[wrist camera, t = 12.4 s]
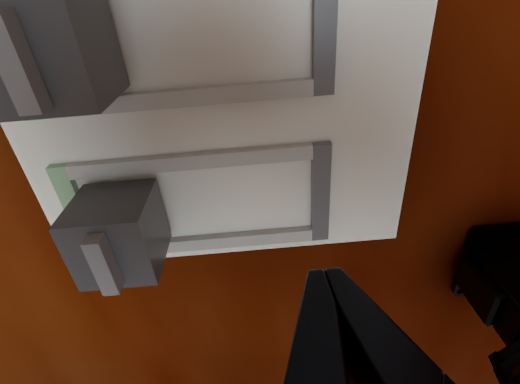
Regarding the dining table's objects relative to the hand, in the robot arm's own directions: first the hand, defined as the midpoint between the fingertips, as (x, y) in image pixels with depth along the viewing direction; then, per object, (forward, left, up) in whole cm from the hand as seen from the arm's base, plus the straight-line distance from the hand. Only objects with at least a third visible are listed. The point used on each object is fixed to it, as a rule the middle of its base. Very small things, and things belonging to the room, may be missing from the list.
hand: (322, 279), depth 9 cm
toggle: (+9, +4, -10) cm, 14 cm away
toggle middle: (+9, -5, -10) cm, 14 cm away
